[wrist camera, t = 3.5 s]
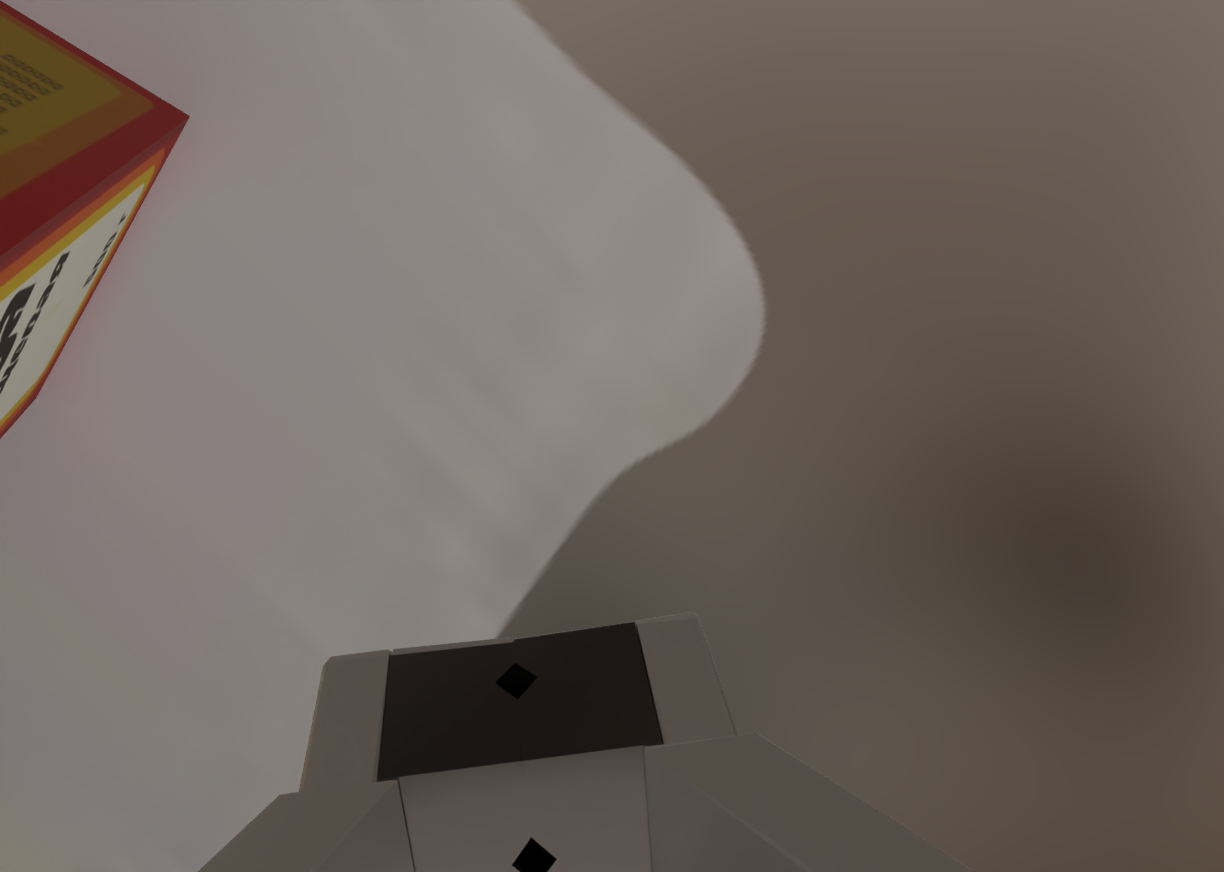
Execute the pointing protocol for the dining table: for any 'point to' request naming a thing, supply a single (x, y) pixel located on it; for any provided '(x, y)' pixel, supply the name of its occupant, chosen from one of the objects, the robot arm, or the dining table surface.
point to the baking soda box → (63, 191)
